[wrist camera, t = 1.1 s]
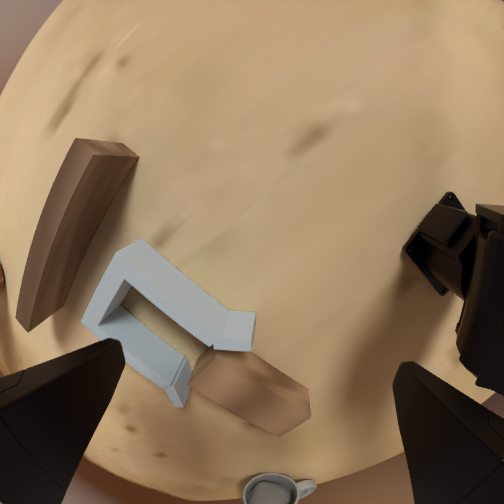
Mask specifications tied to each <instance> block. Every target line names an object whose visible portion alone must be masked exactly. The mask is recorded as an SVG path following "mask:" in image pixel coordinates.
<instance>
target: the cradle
mask: <svg viewBox="0 0 504 504" xmlns="http://www.w3.org/2000/svg"><path fill="white" fill-rule="evenodd" d="M132 286H133V287H134V288H135V289H137V290H138V291H139V292H140V293H141V294H142V295H144V296H145V297H146V298H147V299H148V300H149V301H151V302H152V303H153V304H154V305H155V306H157V307H158V308H159V309H160V310H162V311H163V312H164V313H165V314H166V315H168V316H169V317H170V318H172V319H173V320H174V321H175V322H177V323H178V324H179V325H180V326H182V327H183V328H184V329H186V330H187V331H188V332H190V333H191V334H192V335H194V336H195V337H196V338H198V339H199V340H200V341H202V342H203V343H204V344H206V345H207V346H208V347H210V346H211V345H212V344H213V346H214V349H217V350H231V351H248V352H251V350H252V343H253V337H254V330H255V323H256V312H247V311H229V310H228V309H227V308H226V307H224V306H223V305H222V304H221V303H219V302H218V301H217V300H215V299H214V298H213V297H212V296H210V295H209V294H208V293H207V292H205V291H204V290H203V289H202V288H200V287H199V286H198V285H197V284H195V283H194V282H193V281H192V280H191V279H189V278H188V277H187V276H186V275H184V274H183V273H182V272H181V271H180V270H178V269H177V268H176V267H175V266H174V265H172V264H171V263H170V262H169V261H168V260H166V259H165V258H164V257H163V256H162V255H161V254H159V253H158V252H157V251H156V250H155V249H154V248H152V247H151V246H150V245H149V244H148V243H147V242H146V241H144V240H143V239H142V238H141V239H139V240H137V241H136V242H134V243H132V244H130V245H128V246H126V247H124V248H123V249H121V250H119V251H117V252H116V253H115V255H114V257H113V259H112V260H111V262H110V264H109V266H108V268H107V269H106V271H105V273H104V275H103V277H102V279H101V281H100V283H99V285H98V287H97V289H96V291H95V293H94V295H93V297H92V299H91V301H90V303H89V305H88V307H87V309H86V311H85V313H84V316H83V318H82V320H81V323H82V324H83V325H84V326H85V327H86V328H87V329H88V330H89V331H91V332H92V333H93V334H94V335H95V336H96V337H97V338H98V339H99V340H100V341H102V340H104V339H107V338H113V339H117V340H119V341H120V342H121V344H122V348H123V352H124V356H125V362H127V363H128V364H129V365H131V366H132V367H133V368H134V369H136V370H137V371H138V372H140V373H141V374H142V375H144V376H145V377H146V378H148V379H149V380H150V381H152V382H153V383H155V384H156V385H157V386H159V387H160V388H162V389H163V390H165V391H166V393H167V395H168V397H169V399H170V401H171V403H172V405H173V407H181V408H184V406H185V403H186V401H187V398H188V395H189V393H190V390H191V388H190V387H189V386H187V383H188V381H189V378H190V376H191V374H192V371H191V368H190V366H189V363H188V360H187V359H183V358H184V355H182V354H181V353H180V352H178V351H177V350H175V349H174V348H173V347H171V346H170V345H169V344H168V343H166V342H165V341H164V340H162V339H161V338H160V337H158V336H157V335H156V334H155V333H153V332H152V331H151V330H150V329H148V328H147V327H146V326H145V325H144V324H142V323H141V322H140V321H139V320H138V319H136V318H135V317H134V316H133V315H132V314H130V313H129V312H128V311H127V310H126V309H125V308H123V307H122V306H121V303H122V301H123V300H124V298H125V296H126V295H127V293H128V292H129V290H130V288H131V287H132Z"/></svg>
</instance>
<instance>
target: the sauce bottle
mask: <svg viewBox="0 0 504 504" xmlns="http://www.w3.org/2000/svg"><path fill="white" fill-rule="evenodd" d="M3 287H4V274H3V270H2V267H1V264H0V292H1V291H2V289H3Z"/></svg>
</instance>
